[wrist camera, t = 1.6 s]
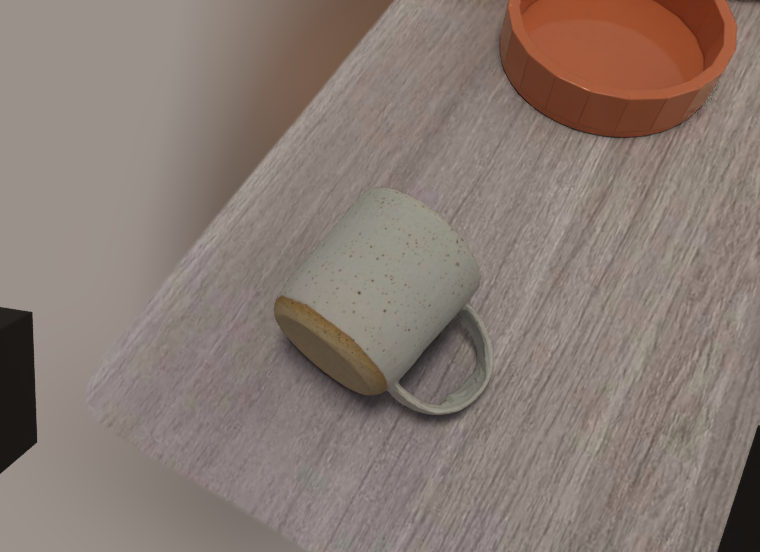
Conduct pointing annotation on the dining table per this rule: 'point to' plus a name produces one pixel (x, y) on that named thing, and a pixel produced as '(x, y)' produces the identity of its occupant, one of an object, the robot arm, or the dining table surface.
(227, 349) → the dining table surface
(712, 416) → the dining table surface
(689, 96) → the holder
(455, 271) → the ceramic mug
